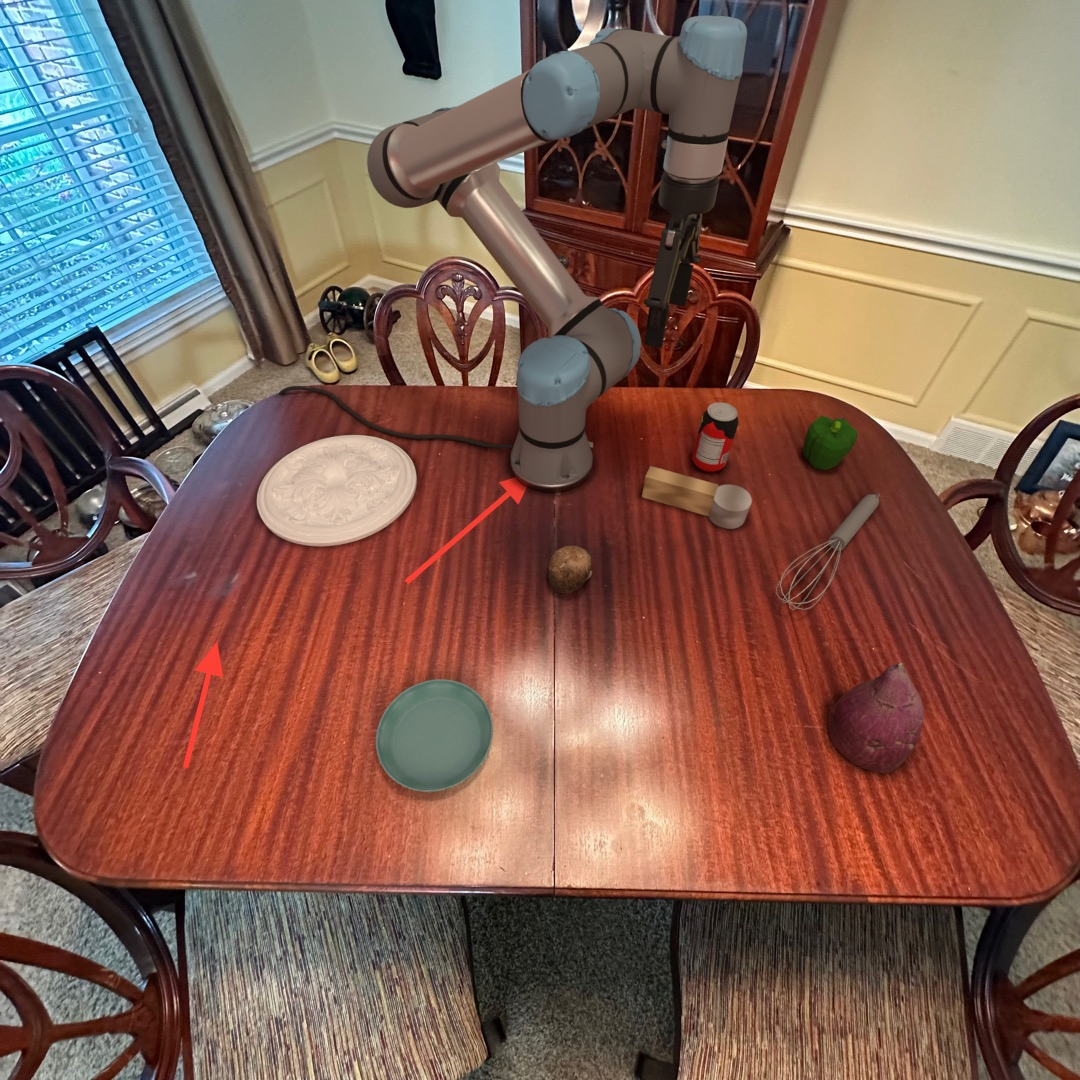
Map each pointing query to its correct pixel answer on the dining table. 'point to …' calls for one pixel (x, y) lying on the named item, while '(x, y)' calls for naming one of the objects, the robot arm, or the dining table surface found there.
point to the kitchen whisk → (838, 541)
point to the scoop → (698, 496)
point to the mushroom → (569, 568)
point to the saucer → (434, 735)
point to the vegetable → (878, 721)
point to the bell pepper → (828, 442)
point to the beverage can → (715, 437)
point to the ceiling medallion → (336, 490)
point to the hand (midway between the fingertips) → (665, 324)
